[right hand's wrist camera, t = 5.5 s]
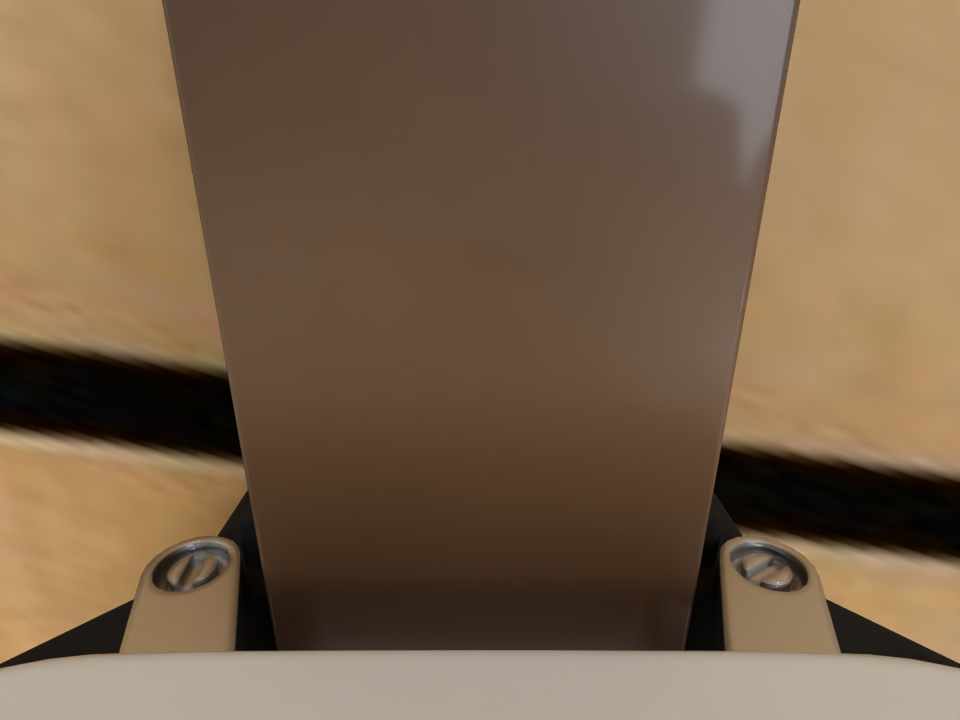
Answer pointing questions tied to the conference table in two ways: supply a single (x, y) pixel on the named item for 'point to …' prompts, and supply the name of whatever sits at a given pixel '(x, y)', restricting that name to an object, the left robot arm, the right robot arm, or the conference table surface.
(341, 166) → the beam
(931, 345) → the conference table surface
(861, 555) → the conference table surface
